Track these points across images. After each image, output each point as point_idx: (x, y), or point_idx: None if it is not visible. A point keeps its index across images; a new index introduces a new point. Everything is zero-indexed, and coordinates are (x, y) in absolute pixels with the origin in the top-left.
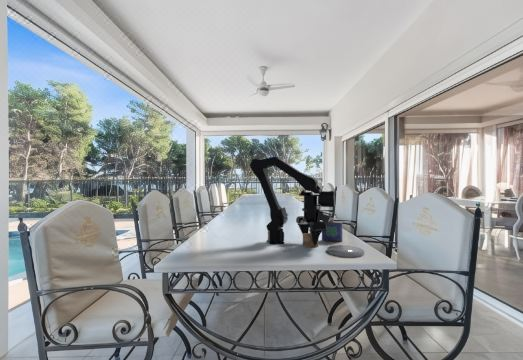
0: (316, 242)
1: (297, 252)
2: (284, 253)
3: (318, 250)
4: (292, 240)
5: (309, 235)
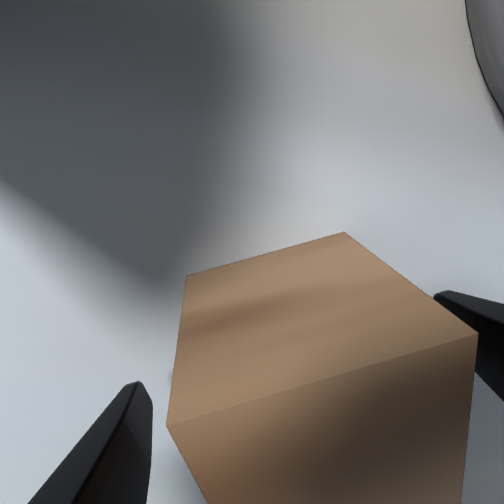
0: (491, 311)
1: (482, 425)
2: (473, 489)
3: (494, 256)
4: (33, 483)
5: (439, 483)
